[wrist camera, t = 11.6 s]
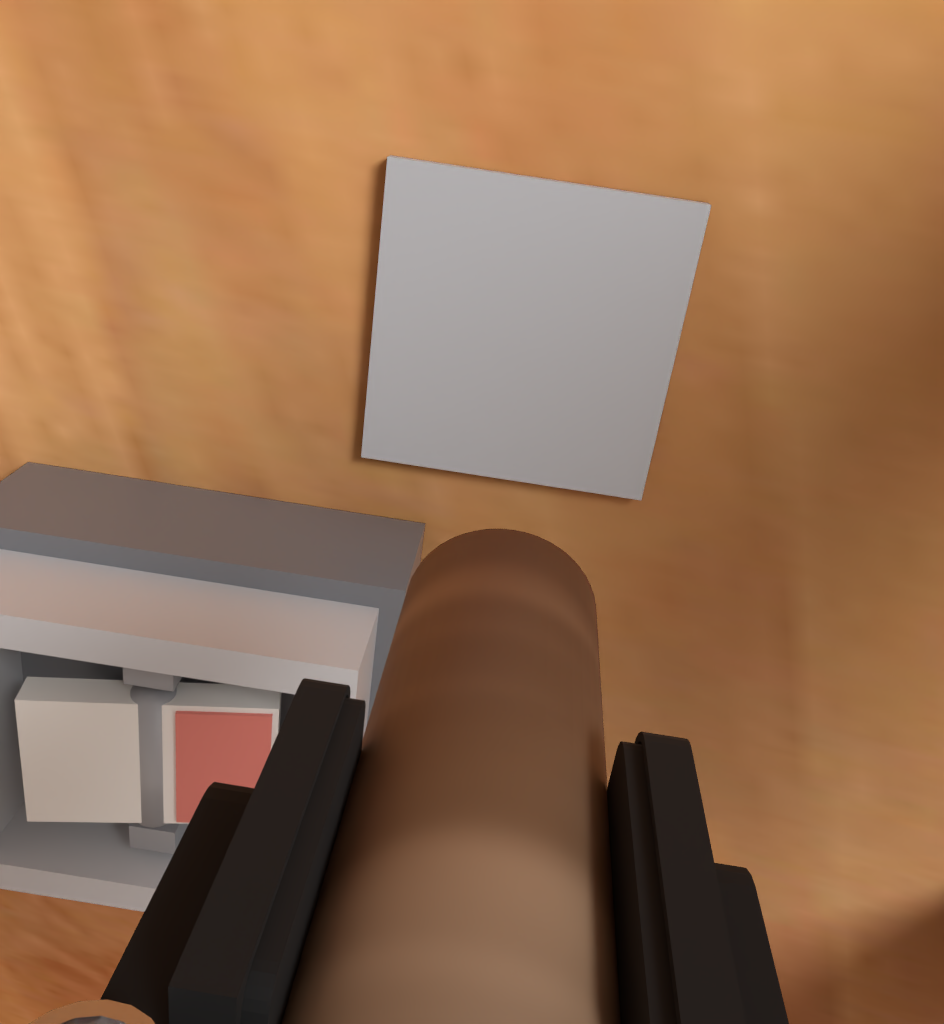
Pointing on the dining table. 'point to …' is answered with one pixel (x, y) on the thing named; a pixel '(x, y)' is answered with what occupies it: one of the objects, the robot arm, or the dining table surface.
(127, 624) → the grey switch housing
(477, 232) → the mat
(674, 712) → the dining table surface
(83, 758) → the rocker
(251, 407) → the dining table surface
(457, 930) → the brown cylinder
